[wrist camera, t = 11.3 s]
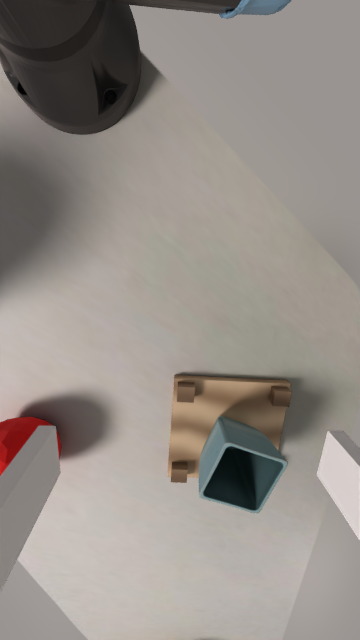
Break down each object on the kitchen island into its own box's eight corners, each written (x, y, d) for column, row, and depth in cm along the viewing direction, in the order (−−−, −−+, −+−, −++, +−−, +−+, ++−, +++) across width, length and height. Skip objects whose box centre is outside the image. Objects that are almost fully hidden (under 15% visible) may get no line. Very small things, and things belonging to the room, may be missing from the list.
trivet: (174, 374, 38) (174, 383, 35) (287, 380, 39) (295, 388, 36) (167, 470, 42) (167, 484, 40) (269, 473, 43) (276, 487, 40)
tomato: (28, 390, 38) (-24, 436, 28) (86, 434, 40) (58, 491, 30) (-18, 438, 39) (-82, 498, 29) (40, 478, 42) (-1, 546, 32)
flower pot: (263, 418, 39) (290, 463, 30) (240, 461, 41) (258, 515, 32) (213, 400, 38) (226, 441, 29) (191, 445, 40) (197, 497, 31)
